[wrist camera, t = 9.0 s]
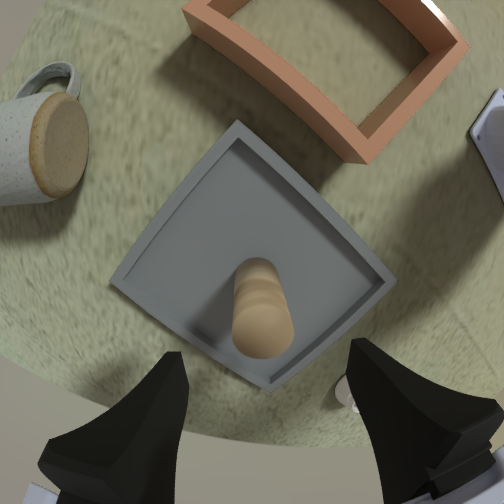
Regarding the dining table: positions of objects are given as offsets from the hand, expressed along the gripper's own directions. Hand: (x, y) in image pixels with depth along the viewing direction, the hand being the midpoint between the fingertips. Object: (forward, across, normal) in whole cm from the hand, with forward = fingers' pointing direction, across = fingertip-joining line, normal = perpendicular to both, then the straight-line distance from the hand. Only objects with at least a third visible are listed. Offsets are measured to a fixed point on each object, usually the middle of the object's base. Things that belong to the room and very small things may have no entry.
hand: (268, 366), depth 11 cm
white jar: (+10, -10, +12) cm, 19 cm away
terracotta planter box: (+10, -6, -18) cm, 21 cm away
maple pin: (+9, 0, 0) cm, 9 cm away
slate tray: (+10, 0, 0) cm, 10 cm away
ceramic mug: (+10, +15, -12) cm, 22 cm away
